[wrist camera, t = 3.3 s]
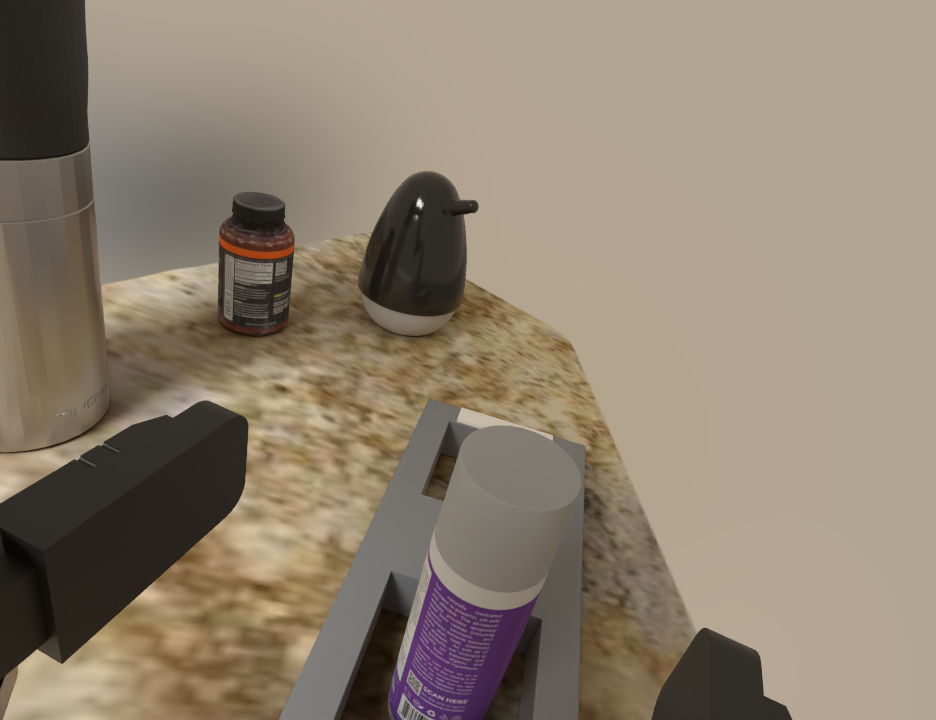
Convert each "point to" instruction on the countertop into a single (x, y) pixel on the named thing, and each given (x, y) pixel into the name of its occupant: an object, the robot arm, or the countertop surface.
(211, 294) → the countertop surface
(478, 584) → the container
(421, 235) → the pump dispenser
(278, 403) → the countertop surface
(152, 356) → the countertop surface
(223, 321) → the supplement bottle
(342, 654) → the socket board
